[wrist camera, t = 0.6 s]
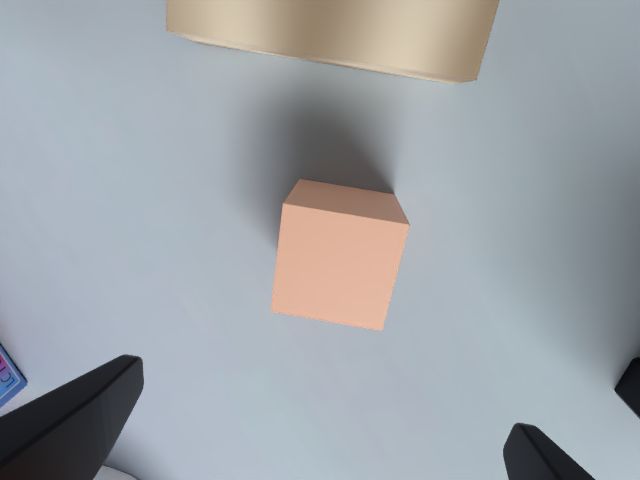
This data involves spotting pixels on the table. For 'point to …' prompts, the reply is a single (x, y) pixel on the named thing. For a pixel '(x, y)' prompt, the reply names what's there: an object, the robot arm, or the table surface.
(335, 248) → the terracotta cube
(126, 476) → the roll of tape
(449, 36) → the maple base
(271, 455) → the table surface
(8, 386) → the ink cartridge box
